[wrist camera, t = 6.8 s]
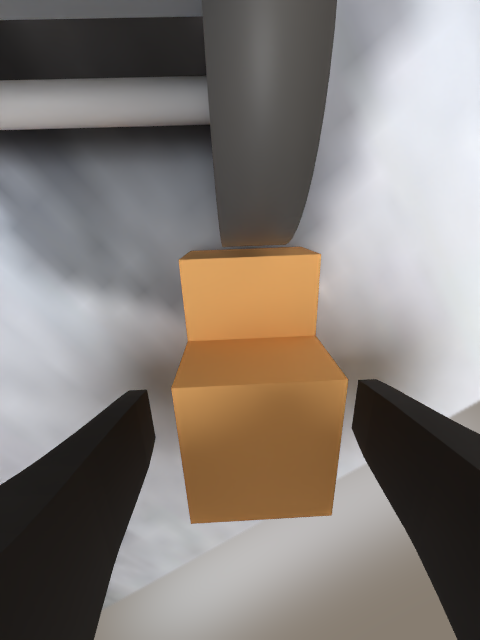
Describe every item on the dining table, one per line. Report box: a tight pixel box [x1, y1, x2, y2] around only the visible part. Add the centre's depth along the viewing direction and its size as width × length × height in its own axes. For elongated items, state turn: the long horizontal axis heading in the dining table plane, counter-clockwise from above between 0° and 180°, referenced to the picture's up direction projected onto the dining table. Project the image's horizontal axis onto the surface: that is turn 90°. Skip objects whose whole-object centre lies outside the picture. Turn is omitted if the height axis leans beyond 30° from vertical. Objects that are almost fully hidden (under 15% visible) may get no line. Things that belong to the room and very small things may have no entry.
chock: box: [171, 247, 348, 524], centre depth 9 cm, size 7×4×5 cm, turn 2°
